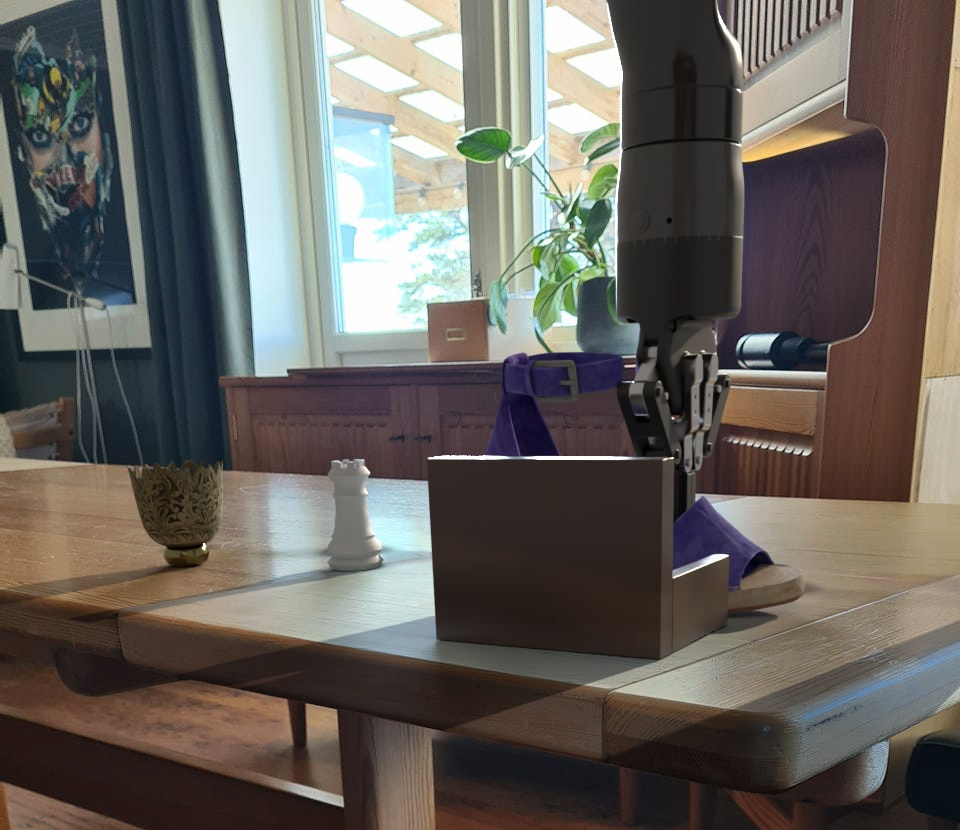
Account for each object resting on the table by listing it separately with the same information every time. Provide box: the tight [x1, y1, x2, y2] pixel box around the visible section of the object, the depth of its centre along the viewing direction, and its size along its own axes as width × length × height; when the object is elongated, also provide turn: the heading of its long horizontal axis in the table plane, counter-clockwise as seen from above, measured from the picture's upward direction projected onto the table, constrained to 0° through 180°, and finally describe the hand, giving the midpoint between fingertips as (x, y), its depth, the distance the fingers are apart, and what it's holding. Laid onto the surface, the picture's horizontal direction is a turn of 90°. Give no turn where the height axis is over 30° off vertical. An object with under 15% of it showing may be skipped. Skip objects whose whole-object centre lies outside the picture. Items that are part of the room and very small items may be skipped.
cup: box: [126, 458, 224, 567], centre depth 104 cm, size 8×7×8 cm
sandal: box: [485, 351, 807, 614], centre depth 78 cm, size 8×20×15 cm, turn 57°
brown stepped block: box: [426, 455, 729, 660], centre depth 72 cm, size 10×14×10 cm
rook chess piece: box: [326, 458, 385, 572], centre depth 99 cm, size 4×4×8 cm
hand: (674, 531), depth 83 cm, fingers closed
